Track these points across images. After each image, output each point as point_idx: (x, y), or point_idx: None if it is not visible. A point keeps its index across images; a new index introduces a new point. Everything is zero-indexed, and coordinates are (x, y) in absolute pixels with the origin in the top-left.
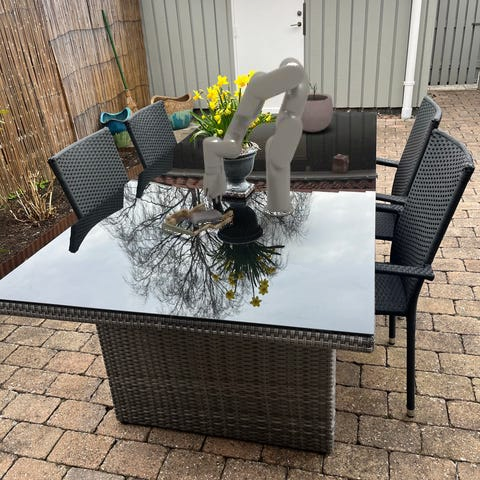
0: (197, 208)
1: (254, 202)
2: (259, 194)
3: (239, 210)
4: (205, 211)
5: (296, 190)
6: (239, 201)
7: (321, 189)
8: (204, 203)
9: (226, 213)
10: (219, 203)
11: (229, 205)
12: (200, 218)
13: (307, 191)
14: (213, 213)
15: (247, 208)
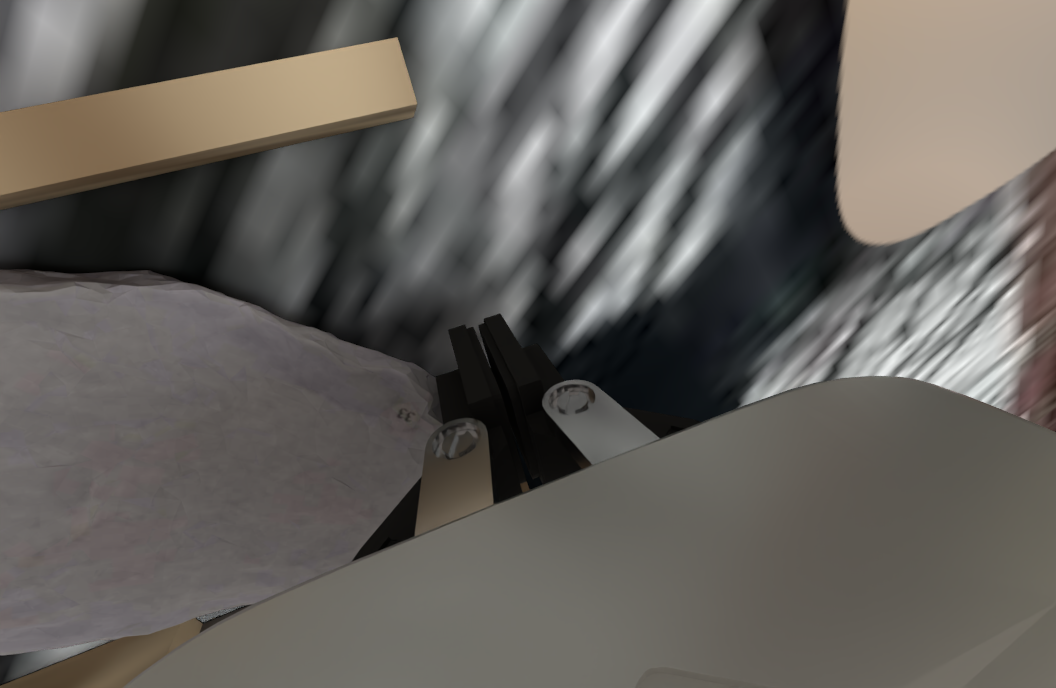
0: (156, 166)
1: (829, 351)
2: (973, 247)
3: (659, 407)
4: (288, 354)
5: (1036, 360)
6: (810, 246)
7: (1041, 421)
8: (403, 107)
9: None
10: (528, 468)
11: (695, 256)
12: (22, 650)
13: (1020, 404)
14: (334, 533)
15: (719, 410)
